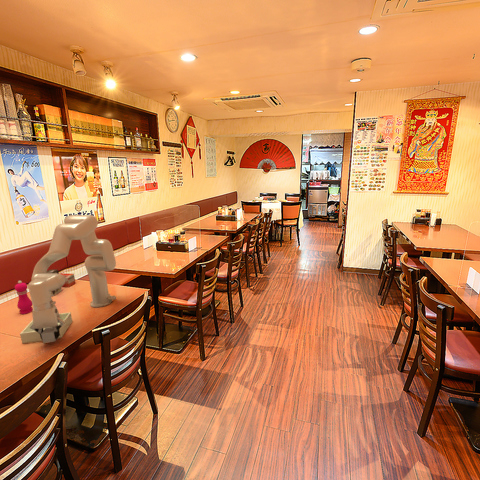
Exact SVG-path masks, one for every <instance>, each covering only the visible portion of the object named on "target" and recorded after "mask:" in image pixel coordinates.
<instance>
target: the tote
mask: <svg viewBox="0 0 480 480" xmlns="http://www.w3.org/2000/svg"><path fill="white" fill-rule="evenodd" d="M59 315H60V318H61V319H62V320H63V321H64V322H65V324H64V325H63V326H62V327H61V328H60V329H59V332H60V336H59V337H58V339H57V340H59V339H62V338H63V337H64V335H65V333H66V331H68V329H69V327H70V326H71V324H72V323H73V318H72V312H71V311H70V312H64V313H63V312H62V313H59ZM32 324H33V319H32V320H31V321H30V322H29V323H28V324H27V325H26V326H25V328H24V329H23V330H22V331H21V332H20V333H19V336H20V340H21V343H22V344H29V343H36V342H43V341H42V339H41V337H40V334H38V332H36V331H35V330H32V329H30V327H31V326H32ZM59 324H60V323H59V322H58V326H59ZM44 329H45V328H44ZM44 329H43V330H44Z"/></svg>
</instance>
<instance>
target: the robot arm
mask: <svg viewBox="0 0 480 480" xmlns="http://www.w3.org/2000/svg"><path fill="white" fill-rule="evenodd" d="M98 221H99V220H98V218H96V216H94V215H92V214H91V215H90V214H85V215H83V214H82V215H81V214H72V215H66V217H64V220H63V223H60V224H57V225H56V226H55V228H54V231H53V234H52V235H53V236H52V238H51V242H50V245H49V249H48V251H47V253H45V254H44V255H43V256H42V257H41V258H40V259H39V260H38V261H37V263H36V264H35V265H34V267H33V272H32V274H31V275H32V276H31V281H30V282H29V283H28V285H27V289H28V291H29V295H30V300H31V301H32V308H33V311H32V312H31V313H32V320H33V324H32V326H31V327H30V329H32V330H35V331H36V332H38V334H40V337H41V339H42V336H41V333H42V332H43V331H44V330H43V329H44V328H48V327H53V329H54V331H55V332H54V335H55V339H56V340H59V339H58V337H59V336H60V332H59V329H60V328H61V327H62V326H63V325H64V324H65V322H64V321H63V320H62V319H61V318H60V315H59V314H60V311H59V310H58V308H57V305H56V303H57V302H56V301H55V300H53V299H52V296H51V294H50V292H51V291H53V290H56V289H59V288H60V287H61V288H63V287H62V286H63V285H64V283H65V277H64V276H63V275H62V274H57V273H46V272H47V271H48V270H49V267H50V266H51V265H52V264H54V263H55V262H57V261H59V260H62V259H64V258H66V257H68V255H69V253H70V248H71V245H72V242H73V241H75V240H77V241H79V240H80V243H81V246H82V250H83V252H84V253H85V255H88V256H87V257H86V258H85V260H84V267H85V269H86V272H87V275H88V279H89V280H88V281H89V287H90V293H91V299H92V301H91V302H90V303H89V304H90V307H92V308H102V307H106V306H108V305H110V304H111V303H112V302H113V300H117V296H116V295H111V294H110V293H109V287H108V280H107V275H106V273H105V272H108V271H109V272H110V271H113V270H115V268H116V266H117V265H116V264H117V262H116V257H115V251H114V248H113V245H112V243H111V241H109V239H105V238H104V239H103V238H98V237H97V235H96V231H95V230H97V227H98V225H99V222H98ZM58 322H59V323H60V324H59V326H58ZM41 342H43V340H42V341H41Z"/></svg>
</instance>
